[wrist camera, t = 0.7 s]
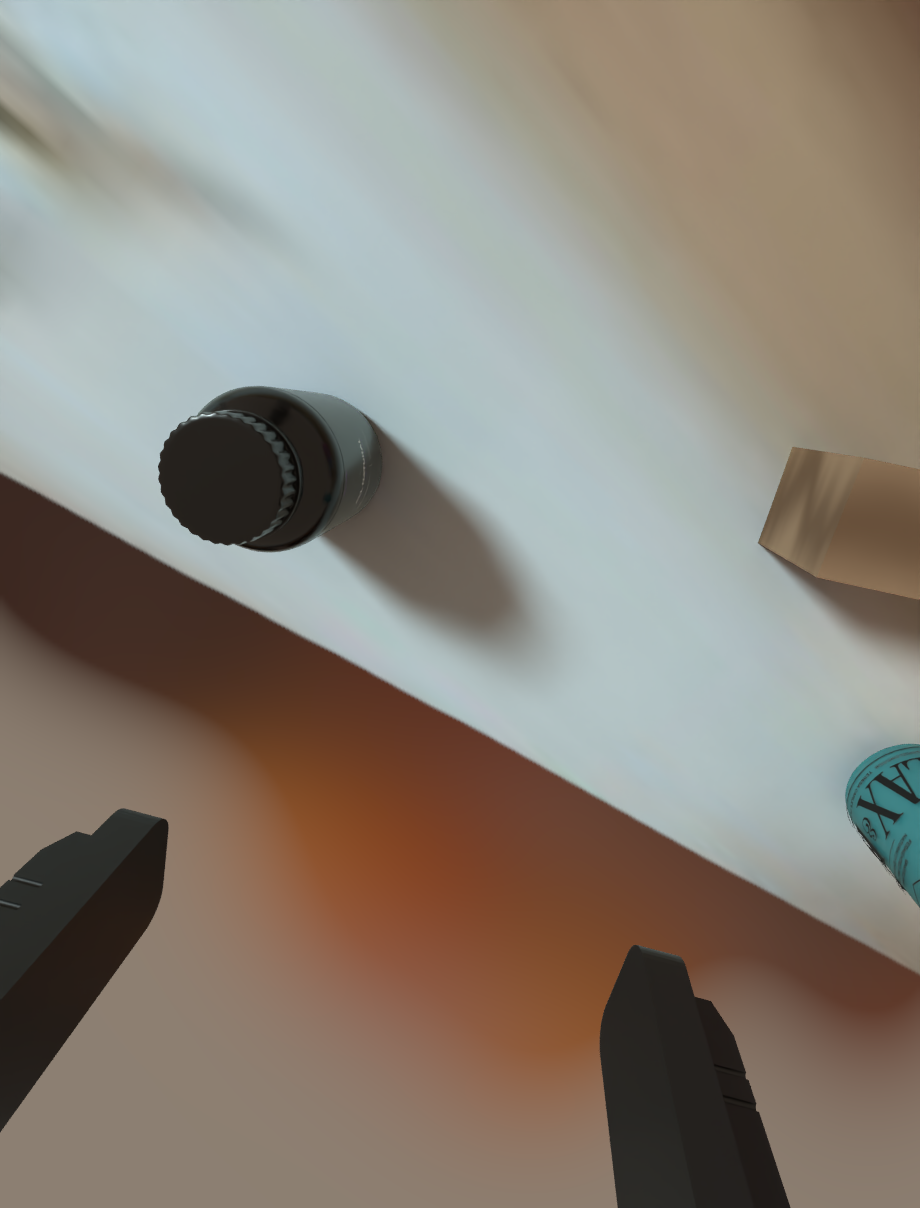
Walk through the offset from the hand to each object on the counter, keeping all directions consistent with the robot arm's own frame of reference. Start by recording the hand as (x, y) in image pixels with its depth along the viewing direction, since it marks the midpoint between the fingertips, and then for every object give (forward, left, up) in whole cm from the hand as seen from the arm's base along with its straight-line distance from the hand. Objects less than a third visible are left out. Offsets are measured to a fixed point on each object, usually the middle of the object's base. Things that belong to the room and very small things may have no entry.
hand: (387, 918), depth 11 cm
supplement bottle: (-4, -10, -26) cm, 28 cm away
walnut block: (-7, +16, -26) cm, 31 cm away
